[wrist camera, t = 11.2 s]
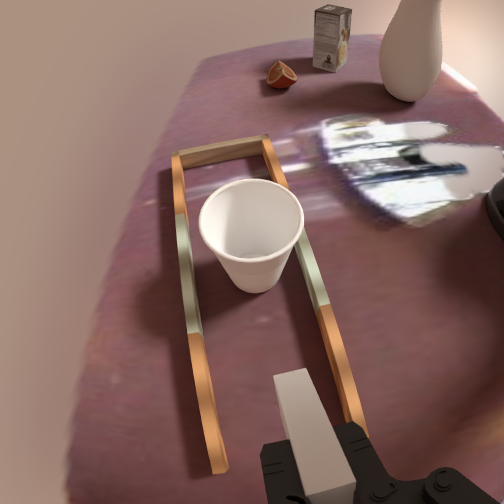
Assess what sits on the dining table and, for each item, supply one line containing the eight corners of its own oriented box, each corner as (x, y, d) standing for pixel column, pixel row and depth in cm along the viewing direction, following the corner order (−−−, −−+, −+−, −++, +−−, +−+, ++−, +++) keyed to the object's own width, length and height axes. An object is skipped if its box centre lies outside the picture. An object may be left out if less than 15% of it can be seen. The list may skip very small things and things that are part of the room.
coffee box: (324, 56, 71) (327, 3, 57) (347, 62, 69) (352, 8, 55) (311, 67, 67) (314, 9, 53) (336, 73, 65) (341, 14, 51)
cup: (200, 290, 38) (178, 239, 29) (236, 228, 42) (227, 168, 33) (277, 322, 35) (280, 278, 26) (307, 252, 40) (317, 194, 31)
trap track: (360, 436, 28) (369, 437, 25) (217, 470, 27) (213, 474, 24) (267, 148, 51) (267, 134, 48) (175, 165, 50) (171, 152, 47)
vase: (378, 75, 65) (394, -32, 39) (429, 94, 61) (456, -11, 35) (367, 97, 59) (386, -30, 33) (427, 119, 55) (461, -5, 30)
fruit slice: (264, 77, 64) (264, 59, 60) (294, 77, 64) (294, 58, 60) (267, 95, 60) (267, 75, 56) (300, 94, 60) (300, 74, 56)
